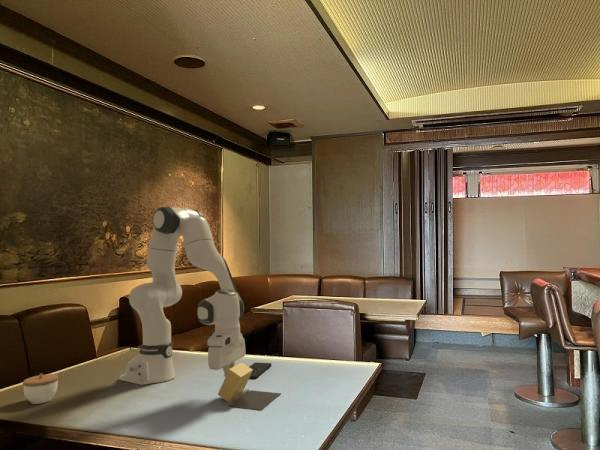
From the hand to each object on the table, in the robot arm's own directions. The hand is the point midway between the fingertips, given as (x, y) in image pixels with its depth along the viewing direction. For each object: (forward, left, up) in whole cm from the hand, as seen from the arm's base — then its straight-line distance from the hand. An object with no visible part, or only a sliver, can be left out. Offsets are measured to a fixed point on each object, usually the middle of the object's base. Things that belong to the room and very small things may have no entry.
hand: (228, 375), depth 154 cm
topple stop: (+9, 0, -7) cm, 12 cm away
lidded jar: (-63, -22, -8) cm, 67 cm away
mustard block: (0, 0, -6) cm, 6 cm away
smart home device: (-5, +31, -8) cm, 33 cm away
